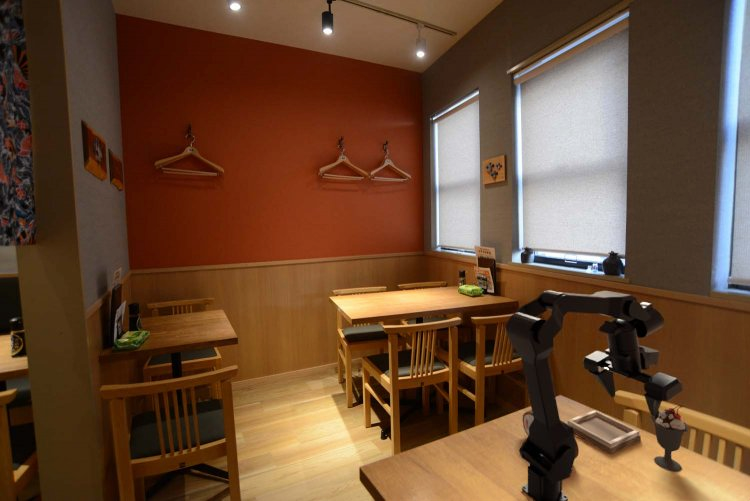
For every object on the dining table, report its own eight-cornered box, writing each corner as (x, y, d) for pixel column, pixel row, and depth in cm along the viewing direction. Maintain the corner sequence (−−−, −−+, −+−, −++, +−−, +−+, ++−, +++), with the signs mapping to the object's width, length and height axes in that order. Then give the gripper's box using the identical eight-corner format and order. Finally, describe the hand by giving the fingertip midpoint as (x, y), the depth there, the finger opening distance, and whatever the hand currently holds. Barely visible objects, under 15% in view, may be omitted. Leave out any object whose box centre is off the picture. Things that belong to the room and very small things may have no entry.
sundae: (694, 475, 77) (696, 410, 76) (659, 472, 78) (661, 408, 77) (675, 456, 83) (677, 396, 82) (643, 453, 85) (645, 394, 84)
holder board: (610, 454, 85) (610, 444, 85) (566, 428, 96) (566, 420, 96) (640, 440, 90) (640, 431, 90) (595, 417, 101) (595, 409, 101)
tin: (579, 467, 81) (579, 432, 81) (569, 471, 80) (570, 436, 79) (529, 432, 95) (529, 402, 94) (520, 435, 94) (520, 405, 93)
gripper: (694, 344, 73) (702, 409, 75) (607, 321, 90) (616, 375, 93) (660, 365, 69) (669, 433, 72) (576, 337, 87) (586, 393, 89)
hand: (632, 405), depth 81 cm, fingers open, 9 cm apart
